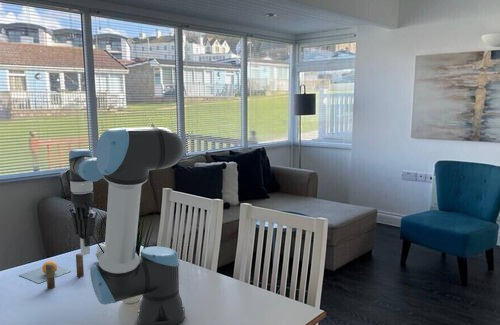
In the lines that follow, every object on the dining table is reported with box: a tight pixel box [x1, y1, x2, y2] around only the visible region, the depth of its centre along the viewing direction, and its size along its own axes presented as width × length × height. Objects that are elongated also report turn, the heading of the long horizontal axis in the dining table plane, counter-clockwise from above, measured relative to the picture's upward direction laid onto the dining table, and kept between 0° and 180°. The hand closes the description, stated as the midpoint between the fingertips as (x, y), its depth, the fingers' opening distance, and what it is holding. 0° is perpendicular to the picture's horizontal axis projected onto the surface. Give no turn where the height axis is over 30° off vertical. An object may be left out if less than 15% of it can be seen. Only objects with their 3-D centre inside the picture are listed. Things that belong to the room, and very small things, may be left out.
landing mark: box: [18, 265, 72, 284], centre depth 167 cm, size 14×14×1 cm
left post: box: [46, 263, 56, 290], centre depth 154 cm, size 3×3×9 cm
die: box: [95, 243, 105, 260], centre depth 180 cm, size 8×9×10 cm
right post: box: [75, 252, 85, 278], centre depth 164 cm, size 3×3×9 cm
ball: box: [42, 260, 58, 274], centre depth 166 cm, size 6×6×6 cm
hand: (85, 254), depth 151 cm, fingers closed
